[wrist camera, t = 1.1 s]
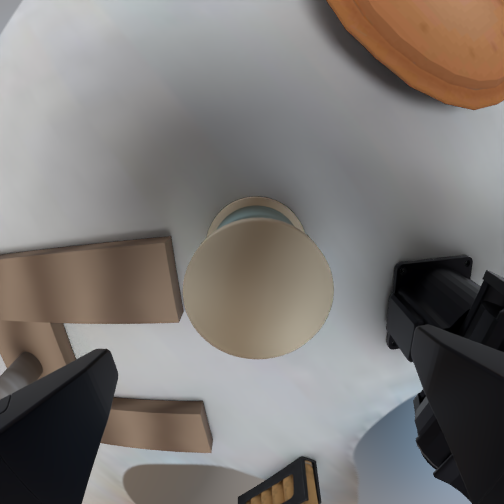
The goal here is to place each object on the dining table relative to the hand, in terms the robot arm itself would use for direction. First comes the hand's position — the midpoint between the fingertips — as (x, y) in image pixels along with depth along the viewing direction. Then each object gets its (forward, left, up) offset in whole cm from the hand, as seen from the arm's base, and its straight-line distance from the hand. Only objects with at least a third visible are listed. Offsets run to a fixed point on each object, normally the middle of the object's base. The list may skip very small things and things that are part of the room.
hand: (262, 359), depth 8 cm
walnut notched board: (+14, +8, -11) cm, 20 cm away
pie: (-12, -16, -11) cm, 23 cm away
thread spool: (0, 0, -11) cm, 11 cm away
